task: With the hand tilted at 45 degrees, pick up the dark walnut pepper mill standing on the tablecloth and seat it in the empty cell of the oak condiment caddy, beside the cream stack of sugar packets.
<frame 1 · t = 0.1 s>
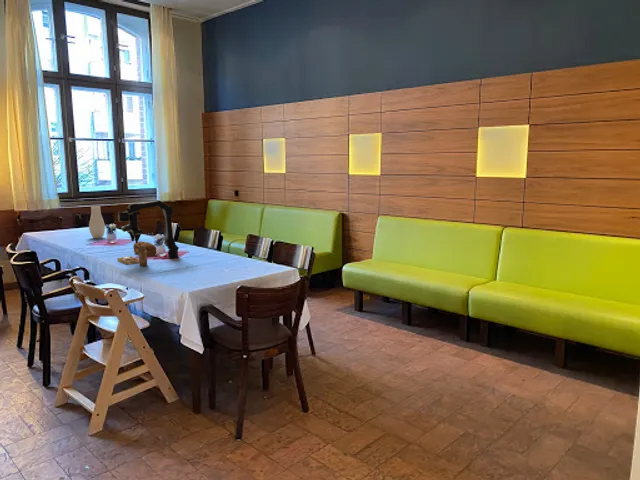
hand: (134, 242, 352), 15 cm above the table, tool pointing down, fingers open, 9 cm apart
caddy: (128, 262, 351), on the table
vase: (97, 238, 460), on the table
bread: (145, 255, 382), on the table
sugar packets: (126, 260, 354), point 1 cm above the table, touching caddy
pepper mill: (143, 266, 340), on the table
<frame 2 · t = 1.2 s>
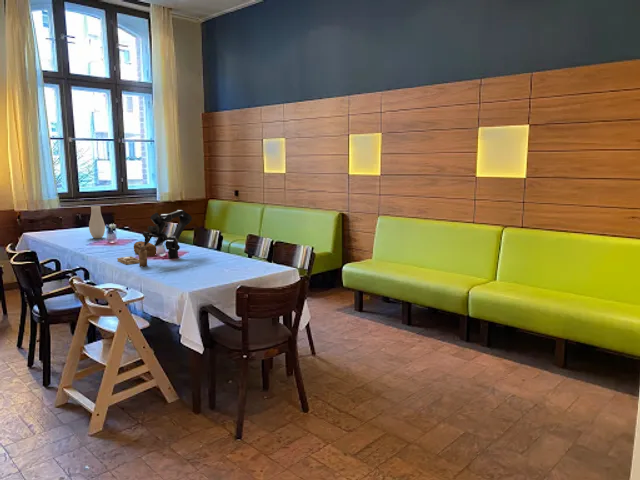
hand: (149, 245, 345), 13 cm above the table, tool tilted 45°, fingers open, 9 cm apart
nothing on the table moved.
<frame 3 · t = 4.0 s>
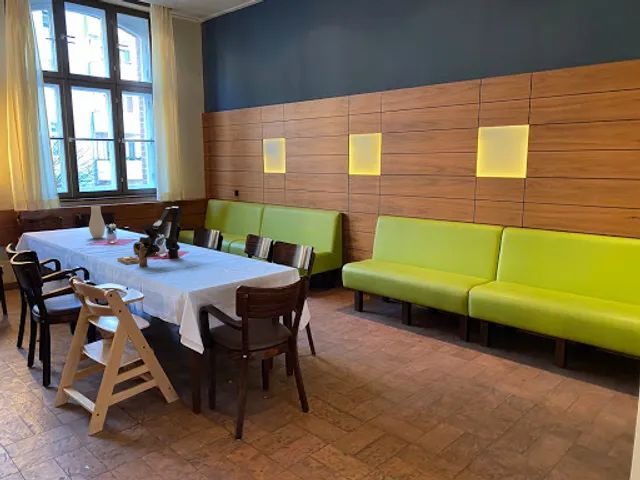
hand: (141, 257, 338), 7 cm above the table, tool tilted 45°, fingers closed on pepper mill, 5 cm apart
pepper mill: (143, 266, 340), on the table, touching gripper
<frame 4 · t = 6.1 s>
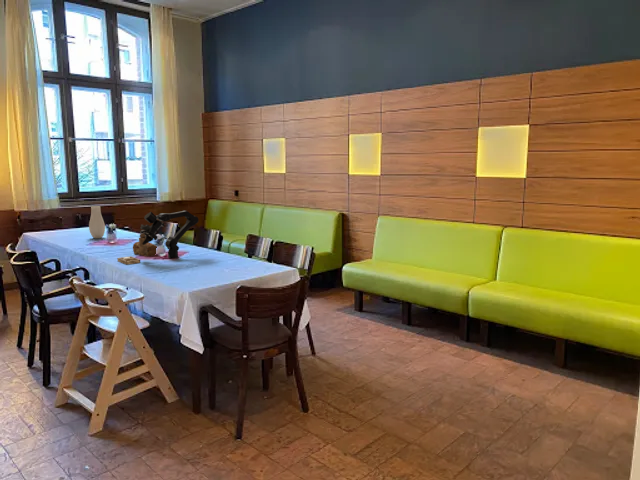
hand: (141, 243, 352), 13 cm above the table, tool tilted 45°, fingers closed on pepper mill, 5 cm apart
pepper mill: (143, 252, 354), point 7 cm above the table, touching gripper
everything else where it was.
when the fingers open (9 cm above the table, at t = 8.5 s): pepper mill drops 1 cm, resting on caddy.
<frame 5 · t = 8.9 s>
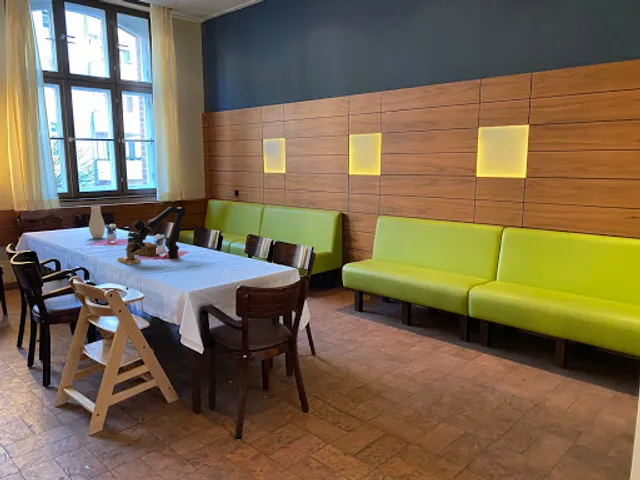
hand: (128, 251, 346), 9 cm above the table, tool tilted 45°, fingers open, 9 cm apart
pepper mill: (131, 262, 349), point 1 cm above the table, touching caddy
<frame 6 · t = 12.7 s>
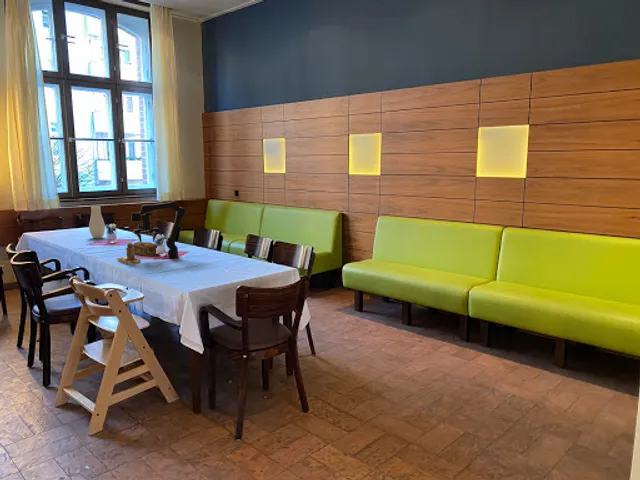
hand: (147, 242, 361), 13 cm above the table, tool pointing down, fingers open, 9 cm apart
at the end: pepper mill 0.1 cm from the target spot on the caddy, point 0.7 cm above the caddy's base; pepper mill tilted 1°; the gripper is holding nothing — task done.
